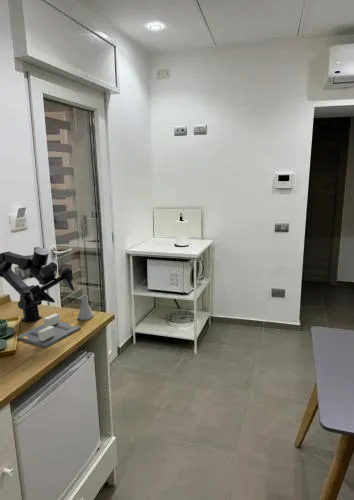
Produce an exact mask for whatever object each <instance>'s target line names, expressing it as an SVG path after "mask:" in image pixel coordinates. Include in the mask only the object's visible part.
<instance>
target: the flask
mask: <svg viewBox="0 0 354 500" xmlns="http://www.w3.org/2000/svg"><path fill="white" fill-rule="evenodd" d="M88 297H89V296H88V295H81V296H80V299H81V302H80V303H81V304H80V309H79V312H78V315H77V319H78V320H81V321H86V320H90V319H92V318H94V313H93V310H92V309H91V307H90V304H89V301H88Z"/></svg>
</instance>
